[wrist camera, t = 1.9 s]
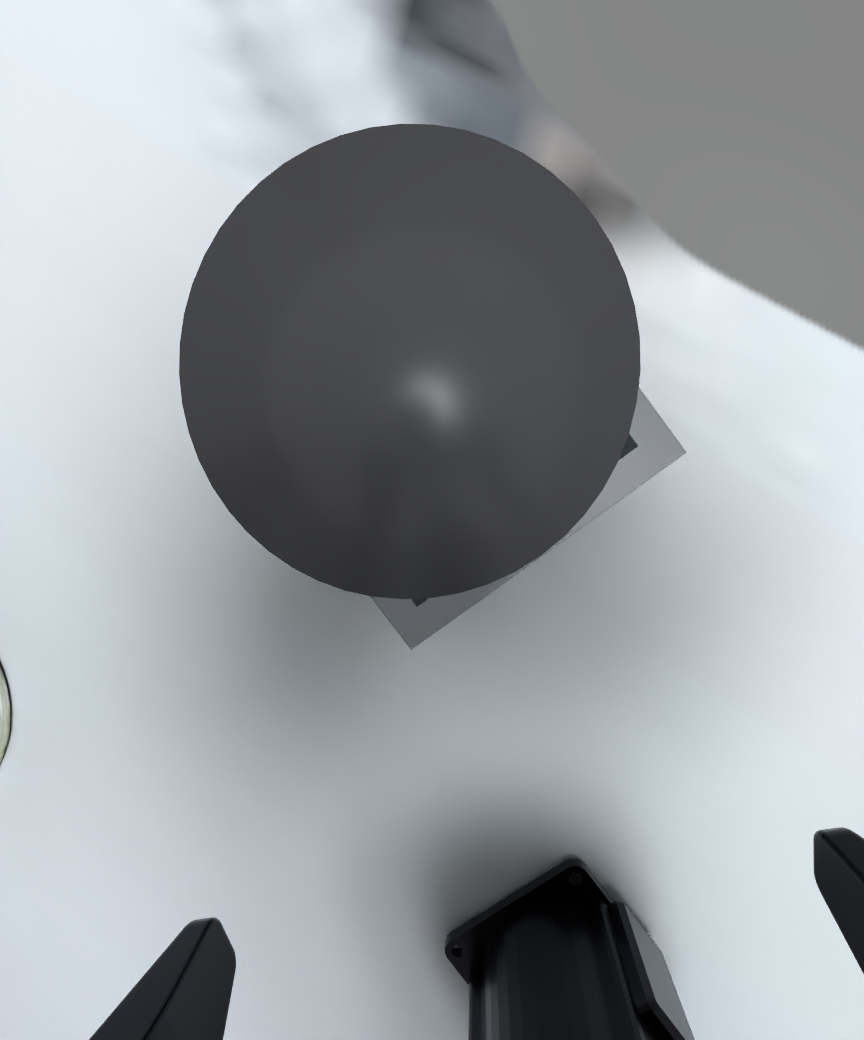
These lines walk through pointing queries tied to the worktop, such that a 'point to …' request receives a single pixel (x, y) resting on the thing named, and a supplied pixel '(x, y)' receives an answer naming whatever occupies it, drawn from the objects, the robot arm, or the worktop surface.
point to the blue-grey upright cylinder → (409, 361)
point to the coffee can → (4, 715)
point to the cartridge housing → (637, 463)
